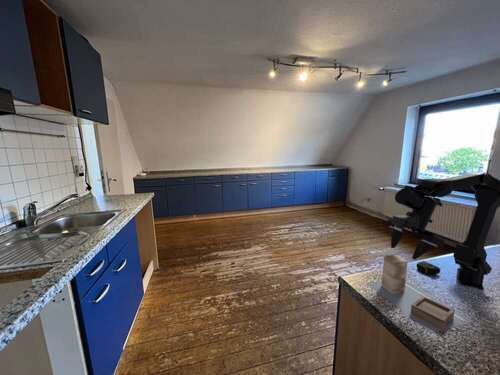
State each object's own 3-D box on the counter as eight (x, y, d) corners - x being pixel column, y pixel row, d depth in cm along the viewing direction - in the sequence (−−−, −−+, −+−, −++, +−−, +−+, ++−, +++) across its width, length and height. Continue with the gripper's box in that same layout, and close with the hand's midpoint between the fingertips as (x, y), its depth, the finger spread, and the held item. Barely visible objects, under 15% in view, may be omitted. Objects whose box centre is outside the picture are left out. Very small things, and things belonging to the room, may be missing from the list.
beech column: (393, 284, 84) (396, 254, 83) (404, 292, 80) (407, 261, 78) (381, 285, 84) (384, 255, 82) (391, 293, 79) (394, 262, 77)
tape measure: (440, 275, 92) (442, 267, 91) (429, 278, 90) (430, 270, 89) (423, 267, 98) (424, 259, 98) (412, 270, 96) (413, 262, 96)
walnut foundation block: (422, 303, 74) (423, 295, 73) (453, 318, 67) (454, 310, 67) (410, 312, 70) (411, 304, 69) (442, 329, 63) (444, 321, 62)
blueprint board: (401, 280, 89) (401, 277, 89) (473, 324, 66) (474, 321, 66) (367, 286, 85) (367, 283, 85) (431, 335, 62) (431, 332, 62)
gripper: (383, 200, 86) (366, 236, 87) (428, 212, 67) (406, 258, 69) (406, 209, 88) (389, 245, 89) (455, 224, 70) (433, 269, 71)
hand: (402, 253), depth 79 cm, fingers open, 9 cm apart
